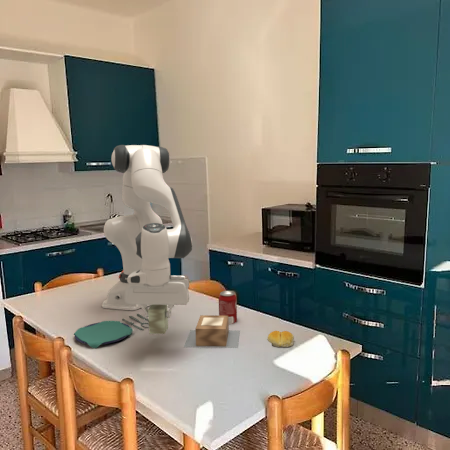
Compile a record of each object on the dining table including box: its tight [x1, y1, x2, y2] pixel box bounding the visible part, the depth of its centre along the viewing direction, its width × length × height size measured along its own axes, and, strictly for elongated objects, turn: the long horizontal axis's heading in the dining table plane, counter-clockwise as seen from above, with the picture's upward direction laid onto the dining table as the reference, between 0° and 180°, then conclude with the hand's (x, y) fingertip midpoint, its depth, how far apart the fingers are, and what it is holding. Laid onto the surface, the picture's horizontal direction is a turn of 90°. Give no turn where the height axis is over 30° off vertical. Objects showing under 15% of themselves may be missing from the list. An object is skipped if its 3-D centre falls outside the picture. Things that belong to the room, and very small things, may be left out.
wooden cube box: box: [194, 314, 230, 346], centre depth 149 cm, size 10×12×6 cm
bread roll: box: [267, 330, 295, 348], centre depth 147 cm, size 8×9×4 cm
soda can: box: [218, 290, 238, 325], centre depth 164 cm, size 7×7×12 cm
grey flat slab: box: [183, 329, 241, 349], centre depth 150 cm, size 18×14×1 cm
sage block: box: [147, 305, 169, 335], centre depth 139 cm, size 5×5×8 cm
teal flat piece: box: [73, 313, 149, 349], centre depth 160 cm, size 20×30×2 cm, turn 133°
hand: (158, 316), depth 139 cm, fingers closed on sage block, 5 cm apart
